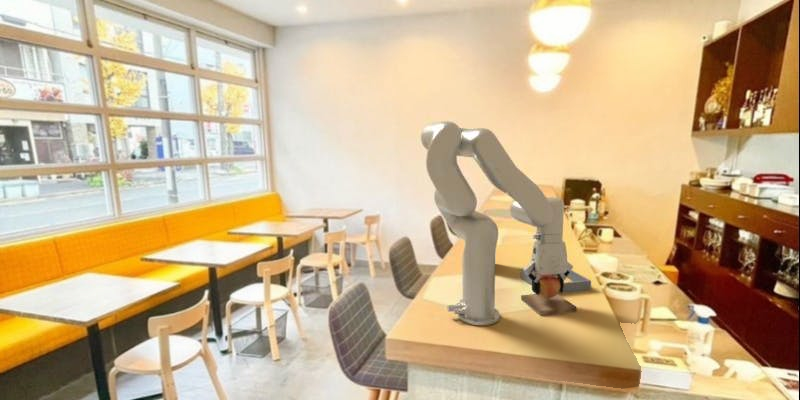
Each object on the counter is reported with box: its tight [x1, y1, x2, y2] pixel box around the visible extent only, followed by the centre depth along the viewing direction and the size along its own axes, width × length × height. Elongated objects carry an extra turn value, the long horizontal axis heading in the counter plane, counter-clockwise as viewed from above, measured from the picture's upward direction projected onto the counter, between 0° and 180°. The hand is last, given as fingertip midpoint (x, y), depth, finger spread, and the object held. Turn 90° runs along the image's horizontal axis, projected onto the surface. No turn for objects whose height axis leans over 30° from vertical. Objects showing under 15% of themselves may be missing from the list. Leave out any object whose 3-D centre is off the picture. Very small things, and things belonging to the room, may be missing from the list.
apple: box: [538, 275, 560, 299], centre depth 120 cm, size 7×7×8 cm
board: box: [520, 293, 577, 317], centre depth 121 cm, size 12×12×2 cm
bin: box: [520, 268, 592, 295], centre depth 138 cm, size 17×17×4 cm
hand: (547, 291), depth 120 cm, fingers closed on apple, 7 cm apart
